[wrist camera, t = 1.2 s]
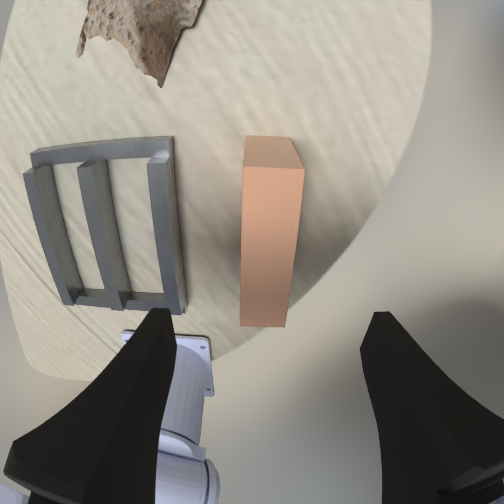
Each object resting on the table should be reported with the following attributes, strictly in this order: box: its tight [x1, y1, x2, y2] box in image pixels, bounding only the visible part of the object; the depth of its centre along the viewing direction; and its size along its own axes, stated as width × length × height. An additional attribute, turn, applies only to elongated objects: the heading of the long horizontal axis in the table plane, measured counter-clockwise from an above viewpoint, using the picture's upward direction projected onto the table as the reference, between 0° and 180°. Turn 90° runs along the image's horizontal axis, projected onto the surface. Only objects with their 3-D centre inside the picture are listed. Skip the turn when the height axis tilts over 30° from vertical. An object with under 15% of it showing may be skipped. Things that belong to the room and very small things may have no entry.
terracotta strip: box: [240, 136, 305, 327], centre depth 17 cm, size 9×2×6 cm, turn 178°
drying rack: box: [23, 136, 187, 315], centre depth 20 cm, size 13×10×2 cm
